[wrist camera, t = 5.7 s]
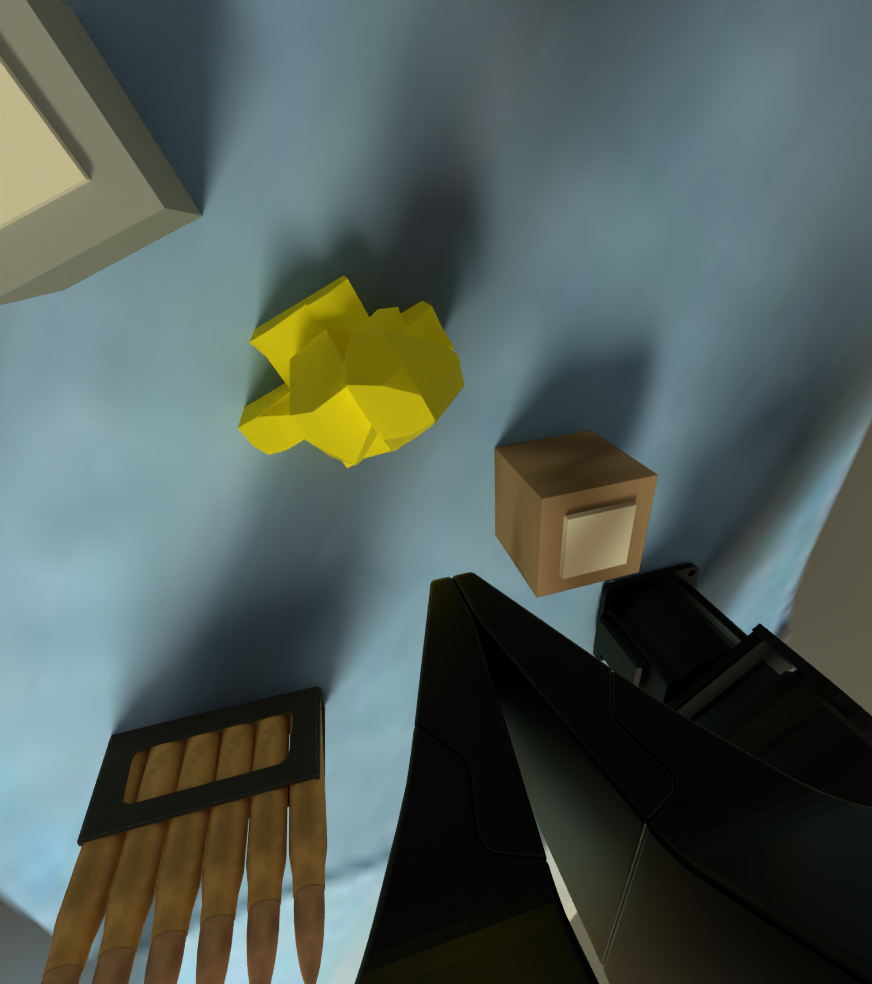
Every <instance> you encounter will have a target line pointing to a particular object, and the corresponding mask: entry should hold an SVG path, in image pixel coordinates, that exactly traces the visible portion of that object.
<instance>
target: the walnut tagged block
mask: <svg viewBox="0 0 872 984" xmlns="http://www.w3.org/2000/svg"><path fill="white" fill-rule="evenodd" d="M657 477H658V475H657V474H656V473H654V472H653V471H651V470H650V469H648V468H647V467H645V466H644V465H642V464H641V463H639V462H638V461H636V460H635V459H633V458H632V457H630V456H629V455H627V454H626V453H624V452H623V451H621V450H620V449H618V448H617V447H615V446H614V445H612V444H611V443H609V442H608V441H606V440H605V439H603V438H602V437H600V436H599V435H597V434H596V433H594V432H593V431H591V430H590V431H584V432H579V433H573V434H568V435H562V436H557V437H551V438H546V439H540V440H535V441H529V442H524V443H518V444H513V445H507V446H502V447H496V448H495V535H496V536H497V538H498V540H499V541H500V543H501V544H502V546H503V547H504V549H505V550H506V552H507V553H508V555H509V556H510V558H511V559H512V561H513V562H514V564H515V565H516V567H517V568H518V570H519V571H520V573H521V574H522V576H523V578H524V579H525V581H526V582H527V584H528V585H529V587H530V588H531V590H532V591H533V593H534V594H535V596H536V597H541V596H545V595H549V594H553V593H557V592H561V591H565V590H569V589H573V588H577V587H581V586H585V585H589V584H593V583H597V582H601V581H605V580H609V579H613V578H617V577H621V576H625V575H629V574H633V573H637V572H639V568H640V563H641V558H642V553H643V548H644V543H645V538H646V533H647V528H648V523H649V517H650V512H651V507H652V502H653V497H654V492H655V487H656V482H657Z"/></svg>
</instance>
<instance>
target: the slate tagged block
mask: <svg viewBox="0 0 872 984" xmlns="http://www.w3.org/2000/svg"><path fill="white" fill-rule="evenodd" d="M201 216H202V214H201V212H200V211H199V209H198V208H197V206H196V205H195V203H194V201H193V200H192V198H191V197H190V195H189V193H188V192H187V190H186V189H185V187H184V186H183V184H182V182H181V181H180V179H179V178H178V176H177V174H176V173H175V171H174V170H173V168H172V167H171V165H170V163H169V162H168V160H167V159H166V157H165V155H164V154H163V152H162V151H161V149H160V148H159V146H158V144H157V143H156V141H155V140H154V138H153V136H152V135H151V133H150V132H149V130H148V128H147V127H146V125H145V124H144V122H143V121H142V119H141V117H140V116H139V114H138V113H137V111H136V109H135V108H134V106H133V105H132V103H131V102H130V100H129V98H128V97H127V95H126V94H125V92H124V90H123V89H122V87H121V86H120V84H119V83H118V81H117V79H116V78H115V76H114V75H113V73H112V71H111V70H110V68H109V67H108V65H107V63H106V62H105V60H104V59H103V57H102V56H101V54H100V52H99V51H98V49H97V48H96V46H95V44H94V43H93V41H92V40H91V38H90V37H89V35H88V33H87V32H86V30H85V29H84V27H83V25H82V24H81V22H80V21H79V19H78V18H77V16H76V14H75V13H74V11H73V10H72V9H71V8H70V7H69V6H68V5H67V4H66V3H65V2H64V1H63V0H0V305H3V304H7V303H11V302H16V301H20V300H24V299H28V298H32V297H37V296H41V295H45V294H49V293H54V292H58V291H62V290H65V289H67V288H69V287H71V286H73V285H75V284H76V283H78V282H80V281H82V280H84V279H86V278H88V277H89V276H91V275H93V274H95V273H97V272H99V271H101V270H102V269H104V268H106V267H108V266H110V265H112V264H114V263H115V262H117V261H119V260H121V259H123V258H125V257H127V256H128V255H130V254H132V253H134V252H136V251H138V250H140V249H141V248H143V247H145V246H147V245H149V244H151V243H153V242H154V241H156V240H158V239H160V238H162V237H164V236H166V235H167V234H169V233H171V232H173V231H175V230H177V229H179V228H181V227H182V226H184V225H186V224H188V223H190V222H192V221H194V220H195V219H197V218H199V217H201Z"/></svg>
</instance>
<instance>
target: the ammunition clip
mask: <svg viewBox="0 0 872 984" xmlns="http://www.w3.org/2000/svg"><path fill="white" fill-rule="evenodd" d="M289 734H290V750H289ZM254 753H255V754H254ZM253 764H254V767H253ZM287 807H289V858H290V865H291V870H292V878H293V898H294V927H295V939H296V948H297V955H298V960H299V965H300V970H301V974H302V978H303V981H304V983H305V984H316V981H317V977H318V973H319V969H320V963H321V956H322V948H323V938H324V919H325V901H324V890H325V862H326V854H327V824H326V801H325V705H324V701H323V697H322V693H321V689H320V688H318V687H317V686H316V687H311V688H307V689H303V690H299V691H295V692H290V693H286V694H282V695H278V696H274V697H269V698H265V699H261V700H257V701H253V702H248V703H244V704H240V705H236V706H232V707H227V708H223V709H219V710H215V711H211V712H206V713H202V714H198V715H194V716H190V717H185V718H181V719H177V720H173V721H169V722H164V723H160V724H156V725H152V726H148V727H143V728H139V729H135V730H131V731H127V732H122V733H118V734H114V735H112V736H111V738H110V740H109V743H108V747H107V750H106V753H105V756H104V759H103V762H102V765H101V769H100V772H99V775H98V778H97V781H96V784H95V787H94V790H93V794H92V797H91V800H90V803H89V806H88V809H87V812H86V816H85V819H84V822H83V825H82V828H81V831H80V834H79V837H78V841H77V844H78V845H79V846H82V847H81V850H80V853H79V856H78V859H77V862H76V864H75V867H74V870H73V873H72V876H71V879H70V882H69V885H68V888H67V890H66V893H65V896H64V899H63V902H62V905H61V908H60V911H59V914H58V916H57V919H56V923H55V927H54V932H53V938H52V944H51V950H50V953H49V957H48V959H47V963H46V966H45V970H44V973H43V976H42V977H43V979H42V982H41V984H79V980H80V977H81V973H82V972H83V969H84V967H85V964H86V961H87V958H88V955H89V952H90V949H91V946H92V943H93V941H94V939H95V936H96V934H97V932H98V930H99V928H100V925H101V923H102V920H103V918H104V915H105V923H104V933H103V937H102V941H101V946H100V950H99V954H98V958H97V959H98V962H97V966H96V970H95V973H94V977H93V981H92V984H128V982H129V978H130V974H131V970H132V966H133V961H134V957H135V954H136V952H137V949H138V945H139V941H140V937H141V933H142V930H143V926H144V923H145V921H146V918H147V916H148V913H149V910H150V908H151V905H152V902H153V898H154V894H155V915H154V922H153V928H152V934H151V940H150V942H151V945H150V950H149V955H148V960H147V966H146V972H145V979H144V984H177V981H178V977H179V972H180V968H181V964H182V959H183V953H184V947H185V941H186V937H187V935H188V930H189V924H190V919H191V914H192V910H193V907H194V903H195V900H196V897H197V894H198V891H199V887H200V882H201V876H202V909H201V918H200V934H199V942H198V950H197V965H196V984H224V981H225V977H226V973H227V968H228V962H229V957H230V951H231V944H232V936H233V926H234V920H235V916H236V908H237V900H238V894H239V890H240V886H241V882H242V878H243V874H244V865H245V854H246V843H247V832H248V821H249V833H248V846H247V859H246V871H247V881H248V905H247V911H248V921H247V967H248V977H249V984H271V979H272V974H273V970H274V964H275V958H276V952H277V943H278V934H279V916H280V905H281V892H282V880H283V875H284V870H285V864H286V850H287ZM249 818H250V820H249ZM206 843H207V844H206ZM205 850H206V851H205ZM204 856H205V858H204ZM162 858H163V859H162ZM161 863H162V864H161ZM203 863H204V865H203ZM160 867H161V868H160ZM202 869H203V872H202ZM159 872H160V873H159ZM158 876H159V878H158ZM157 881H158V883H157ZM156 885H157V887H156ZM155 890H156V893H155ZM105 912H106V914H105Z"/></svg>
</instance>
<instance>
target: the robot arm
mask: <svg viewBox="0 0 872 984" xmlns="http://www.w3.org/2000/svg"><path fill="white" fill-rule="evenodd" d="M698 572H699V568H698V567H697V566H696V565H695V564H693V563H687V564H683V565H679V566H675V567H671V568H667V569H663V570H659V571H655V572H651V573H647V574H643V575H639V576H635V577H631V578H627V579H624V580H620V581H616V582H612V583H609V584H607V585H606V586H605V587H604V588H603V590H602V595H601V602H600V609H599V616H598V621H597V628H596V635H595V642H594V650H593V655H594V656H595V657H594V656H593V655H591V654H590V653H588V652H587V651H585V650H584V649H583V648H581V647H580V646H578V645H577V644H575V643H574V642H572V641H571V640H570V639H568V638H567V637H565V636H564V635H562V634H561V633H560V632H558V631H557V630H555V629H554V628H552V627H551V626H549V625H548V624H547V623H545V622H544V621H542V620H541V619H539V618H538V617H536V616H535V615H534V614H532V613H531V612H529V611H528V610H526V609H525V608H523V607H522V606H521V605H519V604H518V603H516V602H515V601H513V600H512V599H510V598H509V597H508V596H506V595H505V594H503V593H502V592H500V591H499V590H497V589H496V588H495V587H493V586H492V585H490V584H489V583H487V582H486V581H484V580H483V579H482V578H480V577H479V576H477V575H476V574H474V573H472V572H468V573H464V574H459V575H455V576H454V577H453V578H450V577H446V578H441V579H437V580H433V581H432V582H431V585H430V594H429V603H428V611H427V620H426V629H425V638H424V646H423V655H422V664H421V673H420V681H419V690H418V699H417V708H416V717H415V728H414V732H413V740H412V749H411V756H410V763H409V770H408V776H407V783H406V787H405V792H404V797H403V801H402V806H401V811H400V815H399V820H398V824H397V828H396V832H395V836H394V840H393V844H392V848H391V852H390V856H389V860H388V864H387V868H386V872H385V876H384V880H383V884H382V888H381V892H380V896H379V900H378V904H377V908H376V912H375V916H374V920H373V924H372V928H371V931H370V935H369V939H368V942H367V945H366V949H365V952H364V956H363V959H362V962H361V966H360V969H359V972H358V975H357V978H356V981H355V984H599V983H598V980H597V978H596V976H595V974H594V972H593V970H592V968H591V966H590V964H589V962H588V960H587V958H586V956H585V954H584V952H583V950H582V947H581V945H580V943H579V941H578V939H577V937H576V935H575V933H574V931H573V929H572V927H571V925H570V922H569V920H568V918H567V916H566V914H565V911H564V908H563V906H562V903H561V900H560V898H559V895H558V892H557V889H556V886H555V883H554V880H553V877H552V874H551V871H550V868H549V865H548V863H547V862H546V854H545V851H544V848H543V844H542V841H541V838H540V834H539V831H538V828H537V824H536V821H535V818H536V820H537V823H538V825H539V827H540V829H541V832H542V834H543V836H544V838H545V840H546V843H547V845H548V847H549V849H550V852H551V854H552V856H553V858H554V861H555V863H556V865H557V867H558V869H559V872H560V874H561V876H562V878H563V881H564V883H565V885H566V887H567V890H568V892H569V894H570V896H571V898H572V901H573V903H574V905H575V907H576V910H577V912H578V914H579V916H580V918H581V921H582V923H583V925H584V927H585V930H586V932H587V934H588V936H589V939H590V941H591V943H592V945H593V948H594V950H595V952H596V954H597V956H598V959H599V961H600V963H601V964H602V965H604V966H603V970H604V972H605V975H606V977H607V979H608V981H609V983H610V984H872V716H871V715H870V714H869V713H867V712H866V711H865V710H864V709H863V708H862V707H861V706H859V705H858V704H857V703H856V702H855V701H853V700H852V699H851V698H850V697H849V696H848V695H847V694H845V693H844V692H843V691H842V690H841V689H839V688H838V687H837V686H836V685H835V684H834V683H832V682H831V681H830V680H829V679H827V678H826V677H825V676H824V675H823V674H821V673H820V672H819V671H818V670H816V669H815V668H814V667H813V666H812V665H810V664H809V663H808V662H806V661H805V660H804V659H803V658H802V657H801V656H799V655H798V654H797V653H796V652H794V651H793V650H792V649H791V648H790V647H788V646H787V645H786V644H785V643H783V642H782V641H781V640H780V639H779V638H777V637H776V636H775V635H774V634H772V633H771V632H770V631H769V630H768V629H766V628H765V627H764V626H763V625H761V624H760V623H759V624H758V625H757V626H756V627H755V628H753V629H752V631H753V632H752V633H751V634H749V635H746V634H745V633H744V632H743V631H742V630H741V629H740V628H739V627H737V626H736V625H735V624H734V623H733V622H732V621H731V620H730V619H729V618H727V617H726V616H725V615H724V614H723V613H722V612H721V611H720V610H718V609H717V608H716V607H715V606H714V605H713V604H712V603H711V602H709V601H708V600H707V599H706V598H705V597H704V596H703V595H702V594H700V593H699V592H698V591H697V590H696V589H695V588H694V587H695V583H696V580H697V576H698ZM603 660H605V661H606V663H607V664H608V665H609V666H607V665H606V664H604V663H603V662H601V661H603ZM791 668H794V669H795V671H794V672H789V670H790V669H791ZM612 671H613V672H612ZM533 814H534V815H533ZM534 816H535V818H534Z"/></svg>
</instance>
